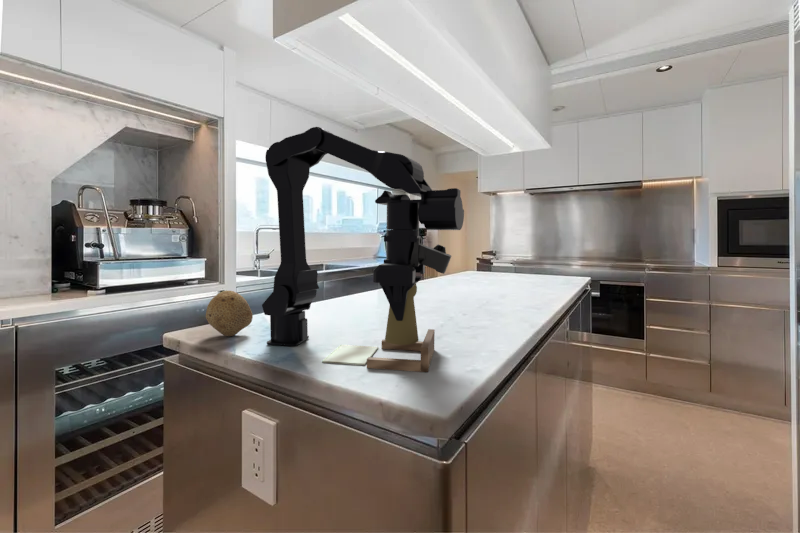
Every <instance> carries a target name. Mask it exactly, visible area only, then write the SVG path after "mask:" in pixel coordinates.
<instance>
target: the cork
mask: <svg viewBox="0 0 800 533" xmlns="http://www.w3.org/2000/svg"><path fill="white" fill-rule="evenodd" d="M417 292H418V286H417V283H416V284H415V285H414V286H413V287H412V288H411V289H410V290H409V291H408V295H407V301H406V306H405V312H404V317H403V320H402V321H397V320H396V318H395V316H394V314H393V311H392V309H391V307H390V306H388V313H387V314H388V315H387V323H386V330H385V337H384V340H385V341H386V342H388V343H391V344H398V345H407V344H413V343H416V342H418V341H419V334H418V333H419V332H418V324H417V316H416V305H415V296H416V295H417Z"/></svg>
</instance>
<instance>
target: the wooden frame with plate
mask: <svg viewBox="0 0 800 533" xmlns="http://www.w3.org/2000/svg"><path fill="white" fill-rule="evenodd" d="M435 332H436V330H435V329H433V328H432V329H431V328H429V329H427V332H426V334H425V336H424V339H423V341H419V340H418V342H416V343H413V344H407V345H398V344H391V343H388V342H386V341H385V338H384V339H381V350H382V349H383V350H384V349H385V350H386V349H387V350H398V351H399V350H401V351H418V352H420V359H405V358H391V357H373V355H374V354H376V352H377V351H378V349H379V347H378V346H366V345H352V344H340V345H339V346H338V347H337V348H335V349H334V350H333V351H332V352H330V354H328V355H327V356H326V357H324V359H322V361H321V363H322V364H337V365H338V364H340V365H354V366H355V365H356V366H365V365H366V369H375V370H376V369H377V370H390V371H392V370H393V371H402V372H417V373H418V372H421V373H429V370H430V367H431V366H430V365H431V363H432V359H433V356H434V354H435V353H434V352H435Z"/></svg>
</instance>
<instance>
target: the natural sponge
mask: <svg viewBox="0 0 800 533" xmlns="http://www.w3.org/2000/svg"><path fill="white" fill-rule="evenodd" d="M205 311H206V312H205V319H206V321H207V322H208V324H209V325H210V326H211V328H213V329H215V330H216V331H217V332H218V333H219V334H221V335H222V336H225V337H234V336H236V335H238V333H239V332H240V331H242V330H243V329H245V328H246V327H249V326H250V325H251V323H252V321H253V316H254V315H253V312H252V309H251V307H250V305H249V303H248V302H247V300H246V299H245V297H244V296H242V295H241V294H239V293H238V292H236V291H234V290H223V291H221V292H219V293H217V294H216V295H214V296H213V298H211V299H210V301H209V302H208V304H207V306H206V310H205Z"/></svg>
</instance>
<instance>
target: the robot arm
mask: <svg viewBox="0 0 800 533" xmlns="http://www.w3.org/2000/svg"><path fill="white" fill-rule="evenodd" d="M327 154H328V155H330V156H333V157H336V158H337V159H340V160H342V161H345V162H347V163H349V164H352V165H354V166H356V167H358V168H361V169H364V170H365V171H366V172H368V173H370V175H372V176H373V177H374V178H375V179H377V180H378V181H379V182H381V183H382V184H384V185H386V186H387V187H389V188H390V189H393V190H397V191H401V192H404V193H407V194H410V195H413V196H417V197H420V199H411V198H410V196H409V195H407V194H393V193H392V192H391V191H389V190H386V189H385V190H384V191H383V192H382V194H381V195H379V196H378V197H377V198H376V199H375V200H374V202H375V204H377V205H382V206H383V205H384V206H386V235H383V242H384V243H386V245H385V247H386V248H385V249H386V253H385V254H386V256H385V257H386V258H385V259H383V263H381V264H379V265H378V266H377V267H376V268H374V269H373V272H372V273H373V277H372V278H373V283H377V284H379V286H380V287H381V288H382V291H383V293H384V295H385V297H386V300H387V302H388V304H389V307H391V309H392V311H393V314H394V316H395V318H396V320H397V321H402V320H403V317H404V312H405V306H406V301H407V295H408V291H409V290H410V289H411V288H412V287H413V286H414V285H415V284H416V285H417V283H419V282H420V281H421V279H422V278H423V276H421V275H424V274H425V273H426V267H428V268H430V269H433V270H435V271H436V272H438V273H439V274H445V273H446V271H447V269H448V266H449V263H450V261H451V259H452V255H451V254H449V253H447V249H446V248H447V247H446V246H444V245H441V244H436V245H435V246H434V247H430V246H427V245H424V244H423V237H422V236H421V235H420V224H421V225H423V226H424V228H425V229H426V230H427V231H461V230H462V228H463V225H464V221H465V220H464V218H465V210H464V207H463V200H462V197H461V190H460V188H457V187H456V188H455V187H453V188H447V189H441V190H440V189H439V190H438V189H437V190H433V189H432V188H431V186H430V185H429V184H428V182H427V181H426V179H425V176H424V174H425V173H424V172H425V171H424V169H423V167H422V164H420V163H419V162H418V161H415V160H413V159H412V158H409V157H407V156H406V155H404V154H401V153H395V152H390V151H379V150H375V149H374V150H373V149H371V148H368V147H365V146H364V145H360V144H358V143H355V142H353V141H351V140H349V139H346V138H343V137H340V136H338V135H336V134H334V133H332V132H331V131H329V130H326V129H324V128H322V127H320V126H313V127H310V128H309V129H307V130H306V131H304V132H301V133H297V134H295V135H291V136H288V137H285V138H283V139H282V140H279V141H276V142H274V143H272V144H271V145H270V146H269V148H267V149H266V152H265V164H266V169H267V173H268V177H269V178H270V180H271V182H272V184H273V186H274V188H275V190H276V194H277V195H276V196H277V212H278V231H279V234H278V235H279V249H280V265H279V266H278V269H277V271H276V273H275V275H274V278H273V289H272V290H273V291H272V292H271V293H270V295H269V296H268V297H267V298H266V299H265V301H264V302H263V303H262V304H261V306H262V310H263V314H264V315H265V316H269V322H270V323H269V325H270V339H269V340H267V341H266V345H272V346H273V345H274V346H286V347H287V346H288V347H291V346H292V347H296V346H299V345H300V344H302V343H304V342H305V341H306V340H308V339H309V338H310V337H309V335H308V334H309V332H308V318H306V311H308V310H310V309H311V304H312V303H313V302H312V301H313V300H314V299H315V298H316V296H317V292H318V291H317V290H320V287H319V284H318V276H319V275H318V273H319V272H318V269H316V268H315V269H311V267H310V265H309V264H308V261H307V250H306V249H307V248H306V230H305V213H304V209H305V208H304V188H305V187H306V184H307V182H308V180H309V178H310V170H311V168H312V167H314V166H316V165H318V164H319V163H320V161H322V159H323V158H324V157H325V155H327ZM416 273H419V274H420V276H419V275H416Z"/></svg>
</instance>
